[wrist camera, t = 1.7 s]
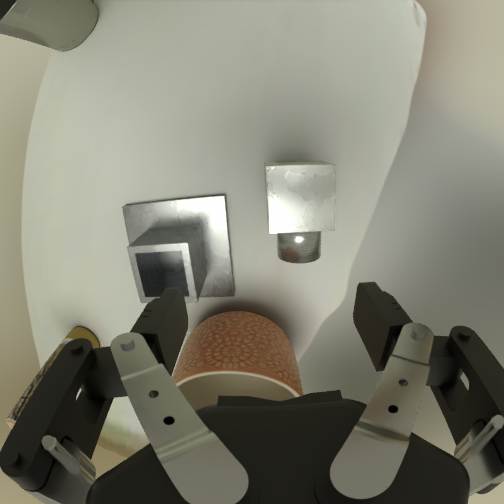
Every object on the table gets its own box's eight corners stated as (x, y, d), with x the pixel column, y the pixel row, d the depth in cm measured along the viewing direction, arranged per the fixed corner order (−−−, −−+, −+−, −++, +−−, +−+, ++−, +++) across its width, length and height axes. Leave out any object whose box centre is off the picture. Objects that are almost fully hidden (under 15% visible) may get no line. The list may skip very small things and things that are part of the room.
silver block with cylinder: (262, 160, 33) (266, 166, 23) (310, 158, 33) (334, 164, 23) (266, 231, 36) (271, 266, 26) (312, 229, 36) (333, 262, 26)
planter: (267, 385, 47) (269, 455, 33) (177, 358, 45) (155, 427, 31) (312, 316, 41) (333, 391, 27) (205, 279, 39) (181, 349, 25)
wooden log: (68, 322, 43) (-2, 413, 20) (95, 327, 43) (27, 431, 20) (78, 349, 46) (21, 440, 22) (104, 355, 46) (50, 456, 22)
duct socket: (125, 205, 35) (96, 220, 28) (224, 194, 35) (216, 208, 27) (144, 295, 40) (124, 324, 33) (234, 292, 40) (230, 325, 32)
